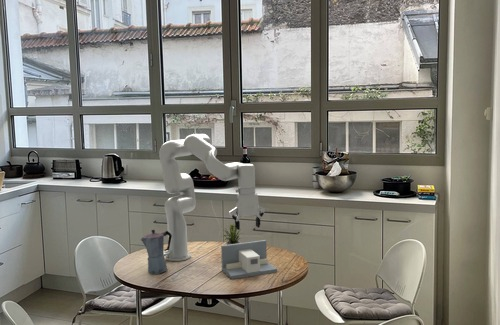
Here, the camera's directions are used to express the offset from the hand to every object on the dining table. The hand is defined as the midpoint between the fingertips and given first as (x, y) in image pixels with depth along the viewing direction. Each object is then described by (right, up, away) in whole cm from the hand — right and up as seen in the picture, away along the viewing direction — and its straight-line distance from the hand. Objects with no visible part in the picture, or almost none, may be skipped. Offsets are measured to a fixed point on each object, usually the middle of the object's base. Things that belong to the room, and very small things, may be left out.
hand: (247, 228), depth 215 cm
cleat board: (0, -20, +4) cm, 20 cm away
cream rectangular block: (+1, -19, +2) cm, 19 cm away
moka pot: (-42, -21, +6) cm, 48 cm away
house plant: (-9, -18, +30) cm, 36 cm away
